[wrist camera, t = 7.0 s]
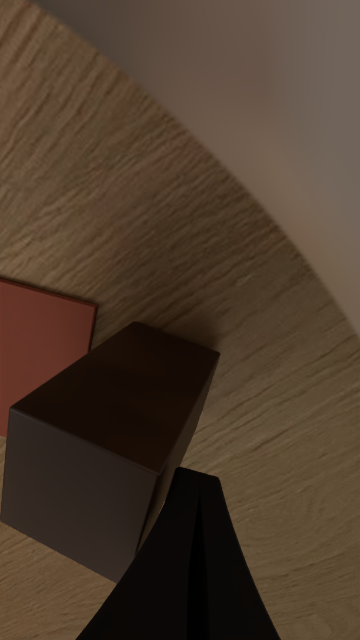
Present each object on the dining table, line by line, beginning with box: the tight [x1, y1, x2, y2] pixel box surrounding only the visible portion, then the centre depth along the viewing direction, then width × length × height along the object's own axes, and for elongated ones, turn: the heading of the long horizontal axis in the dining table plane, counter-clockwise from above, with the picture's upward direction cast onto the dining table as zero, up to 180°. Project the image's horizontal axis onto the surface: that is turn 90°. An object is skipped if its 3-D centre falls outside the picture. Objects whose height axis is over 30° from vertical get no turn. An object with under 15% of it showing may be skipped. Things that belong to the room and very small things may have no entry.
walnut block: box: [0, 322, 220, 584], centre depth 13 cm, size 4×4×8 cm
